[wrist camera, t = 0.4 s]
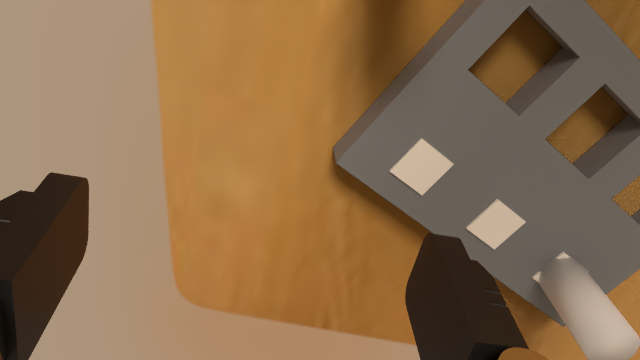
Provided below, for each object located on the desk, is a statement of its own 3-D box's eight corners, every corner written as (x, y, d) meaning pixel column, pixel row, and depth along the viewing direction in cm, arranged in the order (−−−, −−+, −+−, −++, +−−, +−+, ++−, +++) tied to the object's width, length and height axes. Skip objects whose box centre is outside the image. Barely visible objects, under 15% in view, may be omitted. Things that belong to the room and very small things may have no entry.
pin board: (518, -59, 33) (608, -38, 24) (727, 167, 42) (850, 245, 33) (332, 147, 39) (348, 227, 30) (550, 307, 48) (613, 405, 39)
